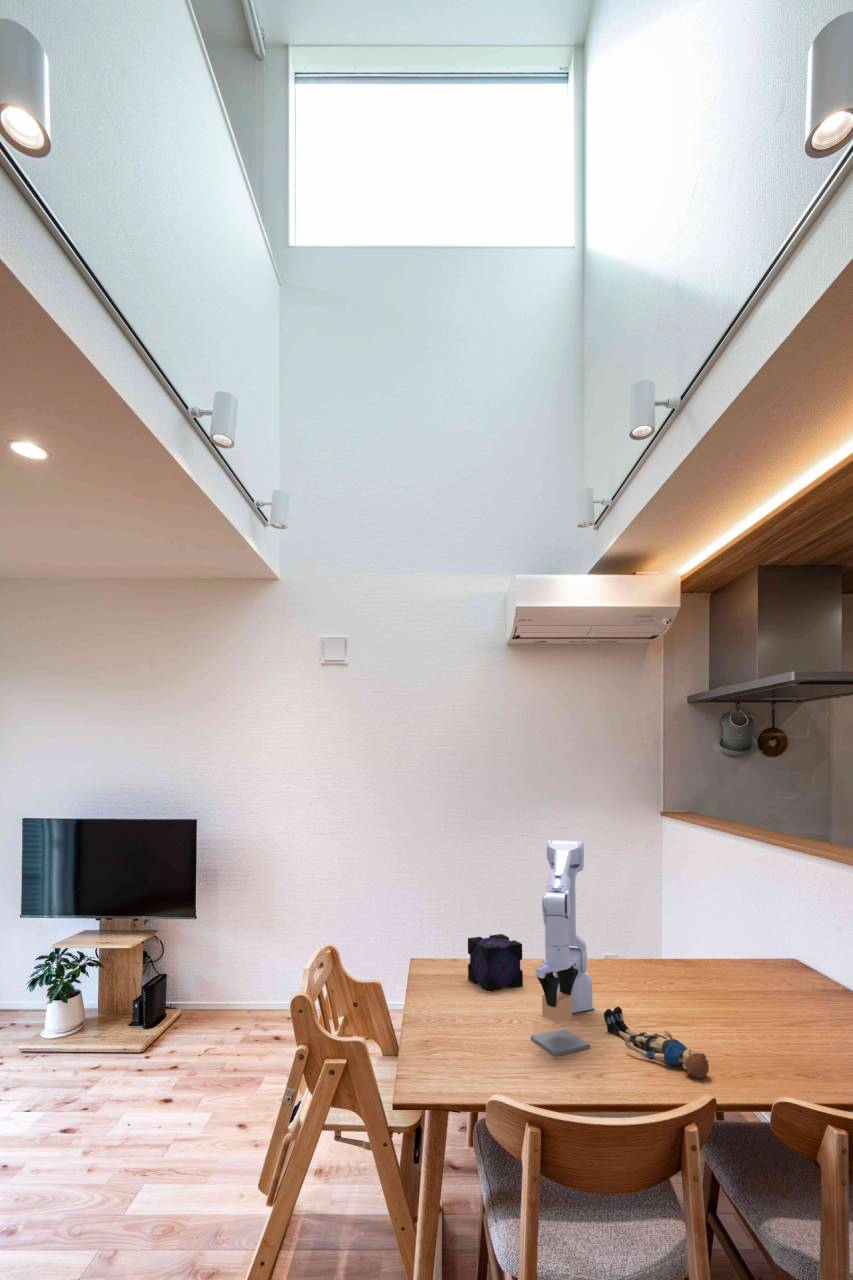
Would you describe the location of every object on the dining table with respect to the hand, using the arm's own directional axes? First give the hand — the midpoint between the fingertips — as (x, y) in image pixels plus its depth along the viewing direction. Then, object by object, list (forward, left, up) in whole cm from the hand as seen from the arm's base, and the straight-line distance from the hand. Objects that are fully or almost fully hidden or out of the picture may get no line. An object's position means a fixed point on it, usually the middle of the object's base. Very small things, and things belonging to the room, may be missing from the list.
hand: (558, 1002), depth 171 cm
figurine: (-17, +14, -10) cm, 24 cm away
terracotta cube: (0, 0, -3) cm, 3 cm away
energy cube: (-8, -44, -9) cm, 45 cm away
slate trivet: (0, 0, -9) cm, 9 cm away
